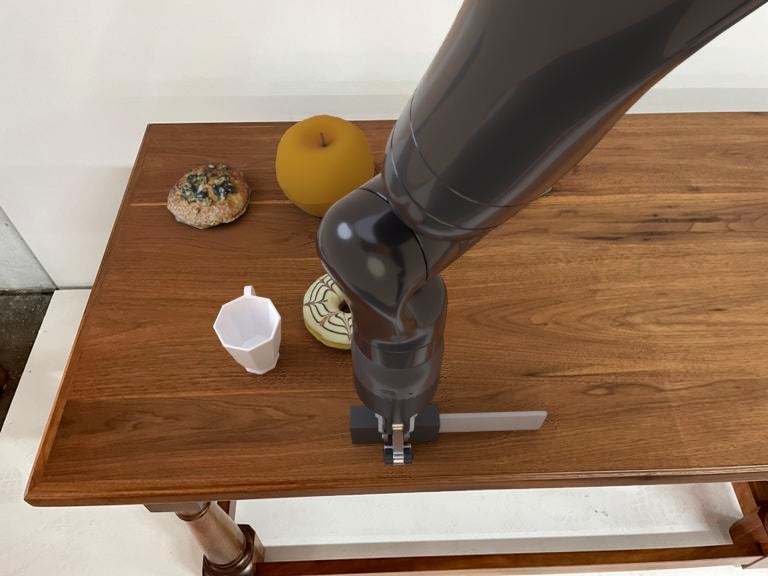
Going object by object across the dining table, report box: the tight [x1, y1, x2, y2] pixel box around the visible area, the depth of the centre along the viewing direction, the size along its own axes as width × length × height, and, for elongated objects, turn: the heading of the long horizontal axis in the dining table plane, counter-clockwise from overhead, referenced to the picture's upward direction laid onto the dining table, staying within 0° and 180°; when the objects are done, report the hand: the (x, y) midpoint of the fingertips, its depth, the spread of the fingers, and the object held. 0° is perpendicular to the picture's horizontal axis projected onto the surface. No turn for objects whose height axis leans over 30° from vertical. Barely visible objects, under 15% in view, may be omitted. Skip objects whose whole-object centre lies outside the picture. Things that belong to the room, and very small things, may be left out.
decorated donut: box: [302, 273, 352, 350], centre depth 71 cm, size 10×11×4 cm
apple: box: [274, 114, 375, 218], centre depth 78 cm, size 13×13×11 cm
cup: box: [212, 284, 282, 375], centre depth 67 cm, size 7×10×8 cm
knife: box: [349, 402, 548, 445], centre depth 62 cm, size 2×20×4 cm, turn 92°
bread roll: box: [166, 162, 252, 230], centre depth 81 cm, size 11×11×5 cm
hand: (394, 431), depth 64 cm, fingers closed
